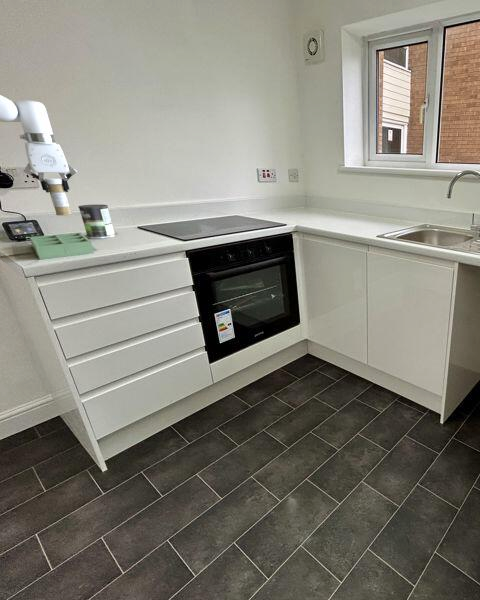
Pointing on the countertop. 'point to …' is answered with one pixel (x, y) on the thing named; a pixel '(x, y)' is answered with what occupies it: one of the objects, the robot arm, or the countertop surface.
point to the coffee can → (97, 221)
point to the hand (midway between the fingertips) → (57, 191)
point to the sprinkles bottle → (58, 196)
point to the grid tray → (61, 245)
